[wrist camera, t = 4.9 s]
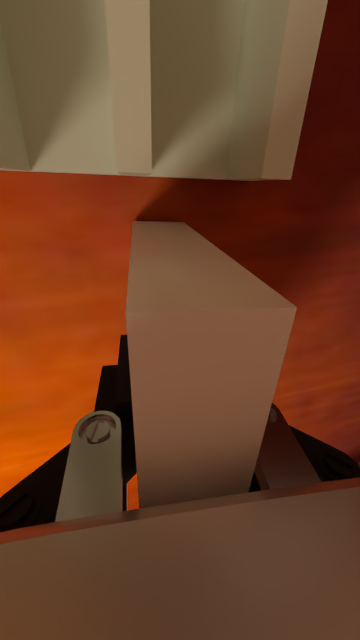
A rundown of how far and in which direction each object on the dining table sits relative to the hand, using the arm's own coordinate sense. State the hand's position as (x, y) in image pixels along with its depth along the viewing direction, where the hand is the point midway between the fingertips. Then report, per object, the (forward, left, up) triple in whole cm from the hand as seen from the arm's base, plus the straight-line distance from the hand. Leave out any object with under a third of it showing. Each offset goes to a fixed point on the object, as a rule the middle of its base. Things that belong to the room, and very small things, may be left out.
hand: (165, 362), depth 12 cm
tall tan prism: (0, 0, -4) cm, 4 cm away
